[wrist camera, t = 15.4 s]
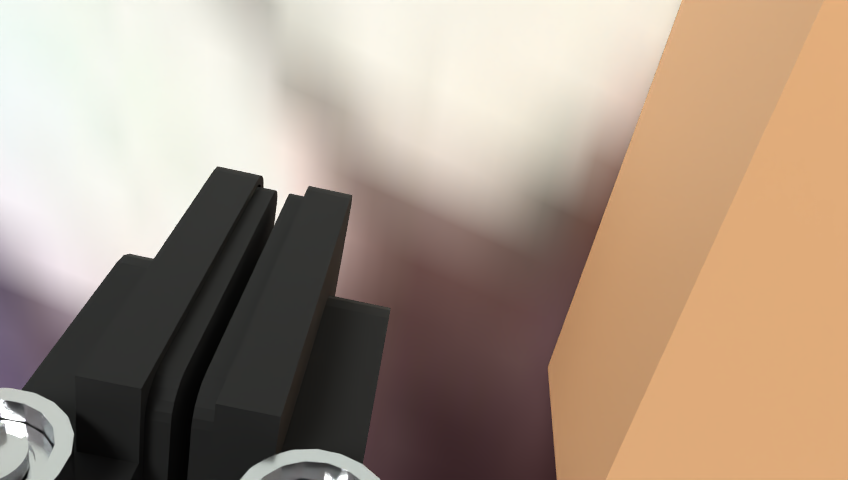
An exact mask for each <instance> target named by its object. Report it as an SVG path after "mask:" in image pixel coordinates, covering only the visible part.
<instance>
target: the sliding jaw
mask: <svg viewBox="0 0 848 480" xmlns="http://www.w3.org/2000/svg"><path fill="white" fill-rule="evenodd" d="M548 376H549V388H550V400H551V413H552V425H553V437H554V450H555V462H556V474H557V480H848V0H682V2H681V5H680V8H679V10H678V13H677V16H676V19H675V21H674V24H673V27H672V29H671V32H670V35H669V38H668V40H667V43H666V46H665V49H664V51H663V54H662V57H661V59H660V62H659V65H658V68H657V70H656V73H655V76H654V79H653V81H652V84H651V87H650V90H649V92H648V95H647V98H646V100H645V103H644V106H643V109H642V111H641V114H640V117H639V120H638V122H637V125H636V128H635V131H634V133H633V136H632V139H631V141H630V144H629V147H628V150H627V152H626V155H625V158H624V161H623V163H622V166H621V169H620V172H619V174H618V177H617V180H616V182H615V185H614V188H613V191H612V193H611V196H610V199H609V202H608V204H607V207H606V210H605V213H604V215H603V218H602V221H601V223H600V226H599V229H598V232H597V234H596V237H595V240H594V243H593V245H592V248H591V251H590V254H589V256H588V259H587V262H586V264H585V267H584V270H583V273H582V275H581V278H580V281H579V284H578V286H577V289H576V292H575V295H574V297H573V300H572V303H571V305H570V308H569V311H568V314H567V316H566V319H565V322H564V325H563V327H562V330H561V333H560V336H559V338H558V341H557V344H556V346H555V349H554V352H553V355H552V357H551V360H550V363H549V366H548Z"/></svg>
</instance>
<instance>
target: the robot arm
mask: <svg viewBox="0 0 848 480" xmlns="http://www.w3.org/2000/svg"><path fill="white" fill-rule="evenodd" d="M351 202H352V195H349V194H344V193H340V192H335V191H330V190H326V189H321V188H316V187H312V186H309V187H308V189H307V191H306V193H305V195H304V196H299V195H294V194H289V195H288V197H287V199H286V202H285V204H284V206H283V208H282V210H281V212H280V214H279V217H278V219H277V221H276V223H275V225H274V221H275V213H276V206H277V191H275V190H271V189H266V188H263V177H262V176H260V175H255V174H251V173H246V172H241V171H237V170H232V169H227V168H222V167H216V169H215V170H214V171H213V172H212V174H211V175H210V177H209V178H208V180H207V181H206V183H205V184H204V186H203V187H202V189H201V190H200V192H199V193H198V195H197V196H196V198H195V199H194V200H193V202H192V203H191V205H190V206H189V208H188V209H187V211H186V212H185V214H184V215H183V217H182V218H181V220H180V221H179V223H178V224H177V226H176V227H175V228H174V230H173V231H172V233H171V234H170V236H169V237H168V239H167V240H166V242H165V243H164V245H163V246H162V248H161V249H160V251H159V252H158V254H157V255H156V257H155V258H154V259H152V258H147V257H142V256H137V255H132V254H127V255H124V256H123V257H122V258H121V259H120V260H119V261H118V262H117V263H116V264H115V266H114V267H113V268H112V270H111V271H110V272H109V274H108V275H107V276H106V278H105V279H104V280H103V282H102V283H101V284H100V286H99V287H98V288H97V290H96V291H95V292H94V294H93V295H92V296H91V298H90V299H89V300H88V302H87V303H86V304H85V306H84V307H83V308H82V310H81V311H80V312H79V314H78V315H77V316H76V318H75V319H74V320H73V322H72V323H71V324H70V326H69V327H68V328H67V330H66V331H65V332H64V334H63V335H62V337H61V338H60V339H59V341H58V342H57V343H56V345H55V346H54V347H53V349H52V350H51V351H50V353H49V354H48V355H47V357H46V358H45V359H44V361H43V362H42V363H41V365H40V366H39V367H38V369H37V370H36V371H35V373H34V374H33V375H32V377H31V378H30V379H29V381H28V382H27V383H26V385H25V386H24V387H23V389H22V390H17V389H12V388H0V480H380V479H379V478H378V477H377V476H376V475H375V474H373V473H372V472H371V471H370V470H369V469H367V468H366V467H365V466H364V465H363V459H364V454H365V448H366V442H367V437H368V431H369V426H370V420H371V414H372V409H373V403H374V398H375V392H376V386H377V381H378V375H379V370H380V364H381V359H382V353H383V347H384V342H385V336H386V331H387V325H388V319H389V314H390V308H388V307H383V306H378V305H373V304H368V303H364V302H359V301H354V300H349V299H344V298H339V297H335V292H336V287H337V281H338V275H339V270H340V264H341V259H342V253H343V248H344V242H345V237H346V231H347V226H348V220H349V215H350V209H351Z"/></svg>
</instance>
